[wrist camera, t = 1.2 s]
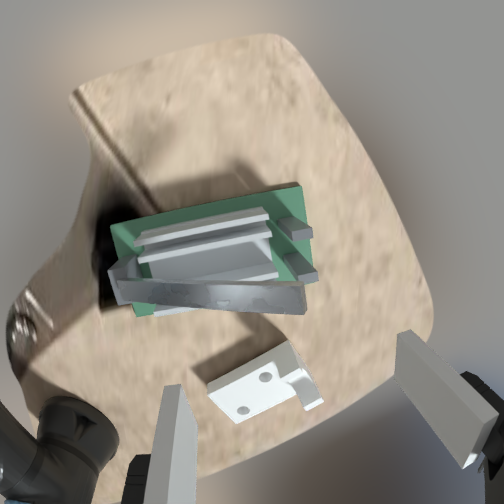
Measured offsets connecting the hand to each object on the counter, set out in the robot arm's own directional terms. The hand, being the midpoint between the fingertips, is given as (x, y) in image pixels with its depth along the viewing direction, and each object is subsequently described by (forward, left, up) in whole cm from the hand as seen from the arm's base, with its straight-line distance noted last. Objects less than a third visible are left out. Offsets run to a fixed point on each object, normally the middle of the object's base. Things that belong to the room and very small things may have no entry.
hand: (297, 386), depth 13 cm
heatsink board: (-4, 0, -26) cm, 26 cm away
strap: (-5, 0, -14) cm, 15 cm away
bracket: (-2, -19, -26) cm, 32 cm away
